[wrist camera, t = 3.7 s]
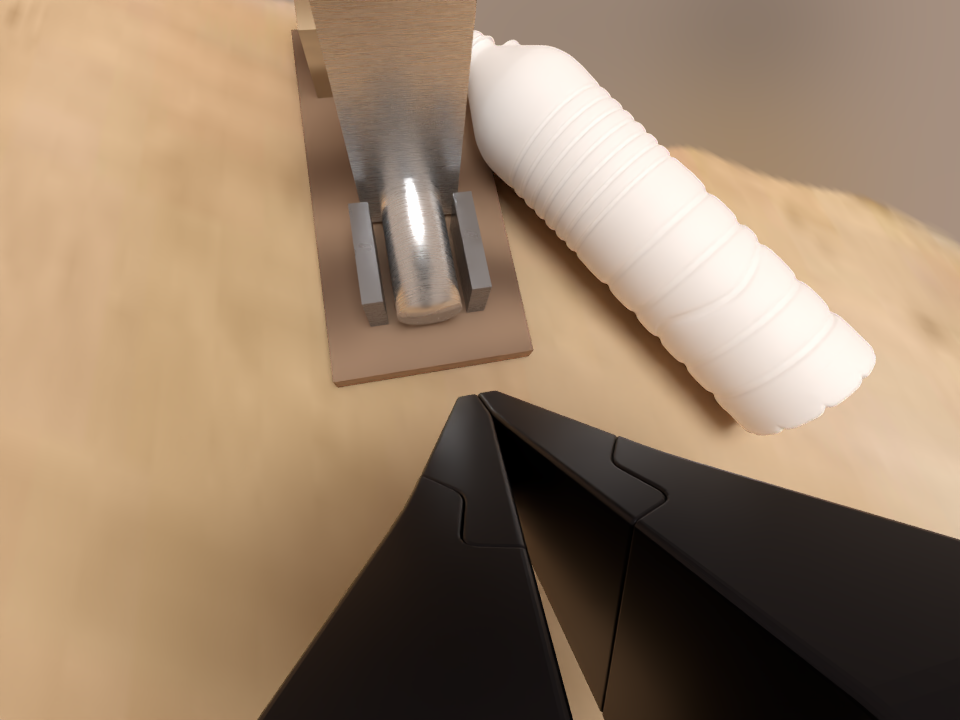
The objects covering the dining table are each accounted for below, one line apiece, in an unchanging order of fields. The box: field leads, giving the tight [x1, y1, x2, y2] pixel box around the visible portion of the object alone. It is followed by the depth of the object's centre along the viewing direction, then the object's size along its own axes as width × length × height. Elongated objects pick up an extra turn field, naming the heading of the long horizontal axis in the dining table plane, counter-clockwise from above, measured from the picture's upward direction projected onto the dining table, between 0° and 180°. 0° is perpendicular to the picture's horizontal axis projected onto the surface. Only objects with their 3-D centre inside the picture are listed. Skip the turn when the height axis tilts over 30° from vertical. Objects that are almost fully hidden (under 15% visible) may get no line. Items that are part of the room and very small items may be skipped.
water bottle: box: [468, 30, 876, 435], centre depth 24 cm, size 9×6×25 cm
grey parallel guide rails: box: [348, 191, 492, 327], centre depth 22 cm, size 5×6×3 cm
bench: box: [291, 0, 533, 387], centre depth 23 cm, size 22×10×6 cm, turn 11°
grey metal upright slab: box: [309, 0, 477, 325], centre depth 17 cm, size 13×5×13 cm, turn 11°
